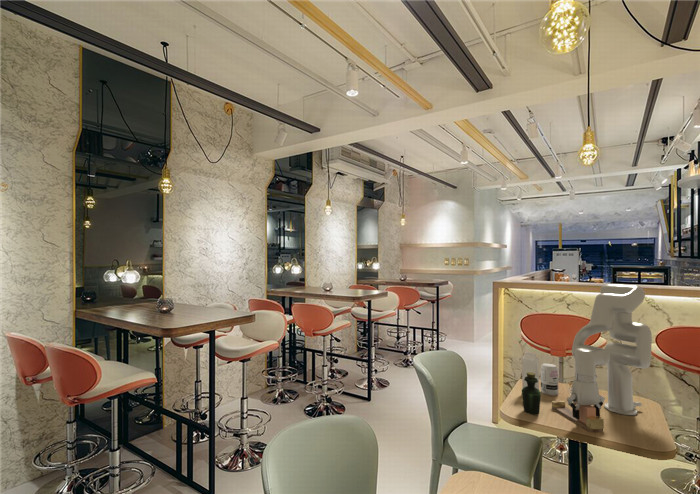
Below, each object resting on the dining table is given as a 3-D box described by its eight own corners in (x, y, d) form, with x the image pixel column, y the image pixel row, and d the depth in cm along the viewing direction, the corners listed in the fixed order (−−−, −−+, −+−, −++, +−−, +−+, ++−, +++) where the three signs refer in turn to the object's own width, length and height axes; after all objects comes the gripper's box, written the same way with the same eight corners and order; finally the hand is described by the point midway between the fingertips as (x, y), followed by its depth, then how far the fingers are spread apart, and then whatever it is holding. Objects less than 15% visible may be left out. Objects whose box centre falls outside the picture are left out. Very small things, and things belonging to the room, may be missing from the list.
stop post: (599, 425, 150) (598, 416, 150) (603, 428, 147) (603, 418, 147) (586, 426, 149) (586, 416, 149) (590, 429, 146) (590, 419, 147)
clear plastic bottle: (533, 397, 184) (533, 354, 185) (522, 393, 189) (521, 352, 190) (539, 394, 188) (538, 352, 189) (527, 390, 193) (527, 350, 194)
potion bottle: (518, 410, 168) (517, 371, 169) (530, 407, 171) (529, 369, 172) (532, 417, 161) (532, 377, 161) (545, 414, 164) (544, 374, 165)
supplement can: (544, 389, 196) (544, 361, 196) (560, 393, 189) (560, 365, 190) (538, 392, 191) (537, 364, 191) (554, 397, 184) (554, 368, 185)
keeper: (585, 418, 156) (584, 402, 156) (596, 424, 150) (595, 408, 150) (576, 418, 155) (576, 402, 156) (587, 425, 149) (587, 408, 150)
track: (563, 408, 170) (563, 400, 170) (603, 431, 148) (603, 422, 148) (552, 408, 170) (551, 401, 170) (590, 431, 147) (590, 423, 147)
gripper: (596, 374, 158) (597, 412, 158) (561, 375, 156) (561, 414, 155) (610, 379, 151) (611, 420, 150) (573, 381, 149) (574, 422, 148)
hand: (586, 417), depth 153 cm, fingers open, 9 cm apart
